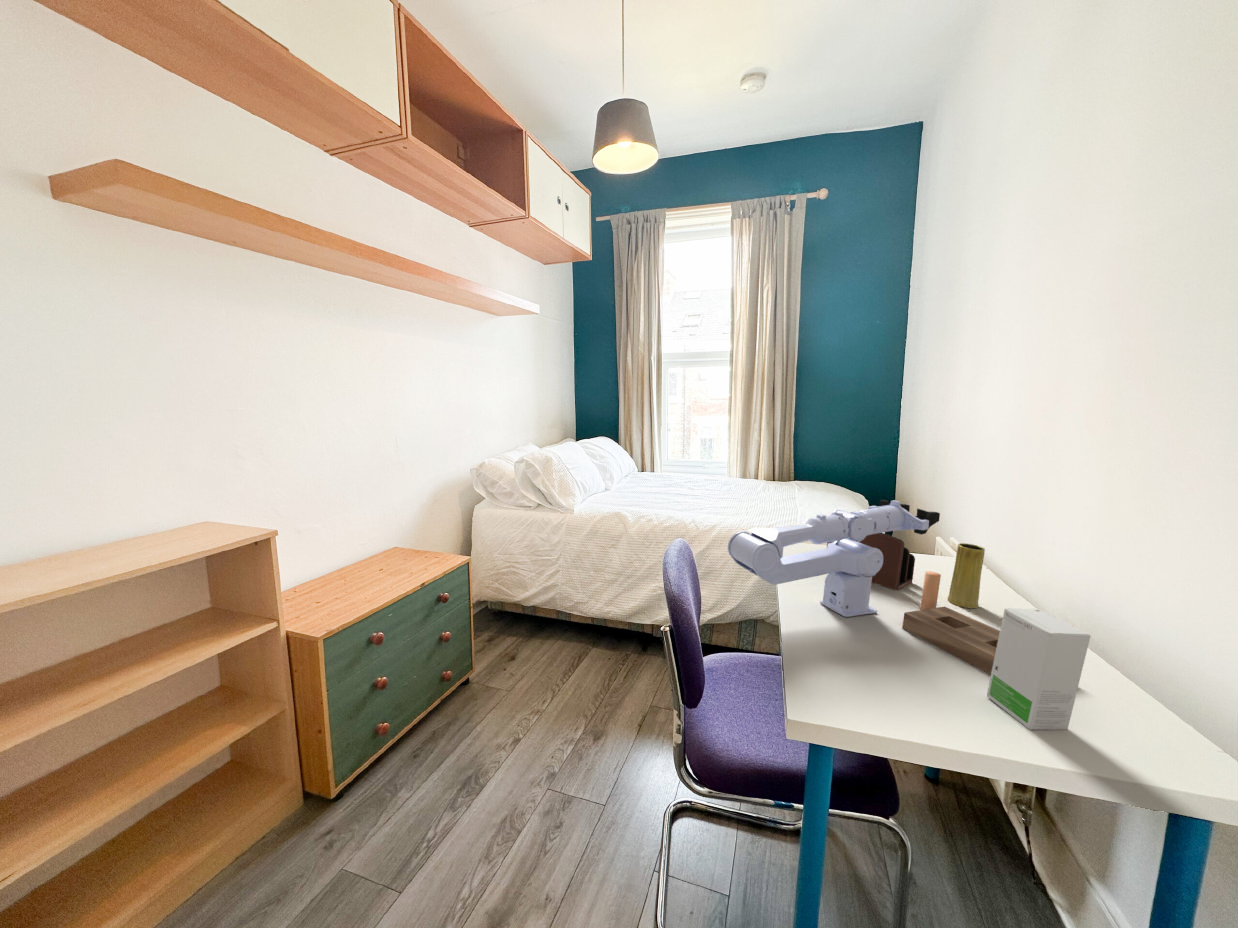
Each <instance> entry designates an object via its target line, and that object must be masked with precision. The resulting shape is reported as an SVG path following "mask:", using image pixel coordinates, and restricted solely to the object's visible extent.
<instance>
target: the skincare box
mask: <svg viewBox="0 0 1238 928" xmlns="http://www.w3.org/2000/svg"><path fill="white" fill-rule="evenodd" d="M999 630H1000V634H999V639H998V643H997V648H996V653H995V658H994V662H993V667H992V672H991V674H990V677H989V683H988V687H987V691H986V697H987V698H988V699H989V700H991V701H992V702H994V704H996V705H997V706H999V707H1000V708H1001V709H1002V710H1004V711H1005V712H1006V713H1008V714H1009V716H1012V717H1013V718H1014V719H1016V721H1018V722H1019V723H1020V724H1021V725H1023V726H1024V727H1025V728H1027V729H1029V730H1030V731H1053V730H1055V731H1057V730H1059V731H1060V730H1066V731H1067V730H1068V729H1069V726H1070V721H1071V717H1072V712H1073V708H1074V705H1075V700H1076V697H1077V696H1076V695H1077V693H1078V689H1079V686H1080V685H1079V684H1080V680H1081V676H1082V672H1083V667H1084V664H1085V660H1086V656H1087V651H1088V648H1089V643H1090V640H1091V637H1092V636H1091V634H1090V633H1087V632H1086V631H1083V630H1081V629H1080V628H1078V627H1075V626H1074V625H1071V624H1070V623H1069V622H1068V621H1065V620H1064V619H1061V618H1059V617H1056V616H1054V615H1052V614H1050V613H1048V612H1046V611H1045V610H1044V609H1043V610H1042V609H1041V608H1006V607H1005V608H1004V611H1003V616H1002V621H1001V626H1000V629H999Z"/></svg>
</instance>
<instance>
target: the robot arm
mask: <svg viewBox="0 0 1238 928" xmlns="http://www.w3.org/2000/svg"><path fill="white" fill-rule="evenodd" d="M910 506H911V505H909V504H905V503H901V501H900V500H894V499H893V500H891V501H888V500H887V499H886V500H885V499H880V500H879V502H878V506H877V505H871V506H870V505H869V506H868V508H867V509H866V508H865V509H861V510H857V511H850V512H848V511H846V510H841V509H835V510H833V511H832V512H831V513H830V514H829V515H826V514H822V513H819V514H816V517H812V518H811V517H810V518H808V520H806V523H805V524H798V525H788V526H780V527H779V526H778V527H777V526H776V527H769V528H767V527H766V528H751V529H748V530H747V531H743V530H742V531H737V532H735V533H734V534H733V535H731V537H730V539H729V540H728V543H727V552H728V554H729V556H730V557H731V558H732V560H733V562H734V563H735V564H737V566H740V567H742V568H744V570H747V571H748V572H750V573H751V574H753V575H755V576H757V577H758V578H760V579H762V580H763V581H766V583H769V584H771V585H773V586H776V585H780V584H785V583H790V582H795V581H796V582H797V581H799V580H804V579H808V578H814V577H819V576H823V575H826V577H825V579H824V588H823V595H822V596H823V597H822V599H821V600H820V601H819V603H820V604H821V605H823V606H826V607H827V608H829V609H830V610H832V611H834V612H835V613H838V614H839V615H841V616H842V617H845V618H851V617H855V616H857V617H858V616H864V615H869V614H870V615H871V614H877V613H878V610H877V609H875V608H873V607H871V606H870V598H871V597H870V595H871V589H872V583H871V582H872V576H875V574H876V573H877V572H878V571H879V570H880V569H881V567H882V565H883V554H882V552H881V551H880V550H879V549H877V548H873V547H870V546H867V545H864V544H862V543H859V542H860V541H862V540H863V539H864V538H865V537H866V536H867V535H872V534H877V533H888V532H892V531H894V532H899V531H910V530H911V531H912V530H913V533H915V534H918V535H926V534H927V533H928V530H930V528H931V527H932V526H933V525H935V524H937V523H939V522H940V516H941V513H940V512H937V511H926V510H924V509H920V508H916V515H914V514H913V513H911V512H910V510H911V509H910V508H911V507H910ZM808 541H809V542H811V543H812V544H814V545H821V544H826V548H823V549H822V548H820V549H816V550H810V551H805V552H800V553H795V554H794V553H793V554H789V555H784V548H785V547H788V546H792V545H793V546H794V545H797V544H800V543H804V542H808ZM833 541H835V542H833ZM856 541H857V542H856ZM828 542H833V543H828ZM827 543H828V545H827Z"/></svg>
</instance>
